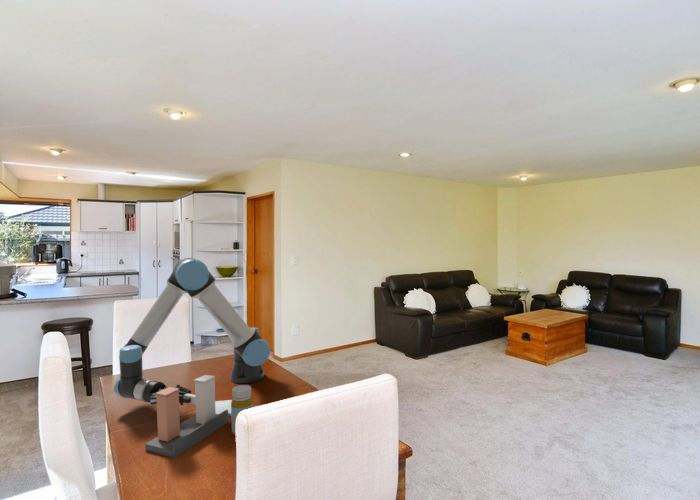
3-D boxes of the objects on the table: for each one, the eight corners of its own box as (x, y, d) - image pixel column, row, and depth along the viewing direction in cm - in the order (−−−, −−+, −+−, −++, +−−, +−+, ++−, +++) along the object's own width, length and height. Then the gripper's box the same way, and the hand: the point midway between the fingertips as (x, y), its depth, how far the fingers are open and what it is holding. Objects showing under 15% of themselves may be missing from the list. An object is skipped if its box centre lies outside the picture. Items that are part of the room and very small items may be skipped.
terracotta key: (170, 431, 128) (169, 386, 128) (181, 433, 126) (179, 388, 126) (157, 439, 123) (155, 393, 123) (167, 442, 121) (165, 395, 121)
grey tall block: (206, 415, 139) (205, 374, 138) (216, 417, 137) (215, 376, 137) (195, 422, 134) (193, 379, 133) (205, 424, 132) (204, 381, 132)
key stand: (201, 416, 143) (201, 404, 143) (228, 422, 139) (228, 409, 139) (145, 450, 121) (144, 436, 121) (174, 457, 117) (174, 443, 117)
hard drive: (231, 413, 144) (235, 399, 156) (207, 415, 142) (214, 400, 155) (231, 417, 144) (235, 403, 156) (207, 419, 142) (214, 404, 155)
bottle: (231, 439, 127) (230, 393, 127) (232, 429, 134) (230, 385, 133) (254, 435, 129) (252, 390, 128) (253, 425, 136) (251, 383, 135)
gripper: (165, 394, 151) (213, 403, 142) (135, 408, 139) (185, 419, 130) (164, 375, 151) (213, 383, 142) (134, 387, 139) (185, 397, 130)
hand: (199, 400), depth 136 cm, fingers closed
